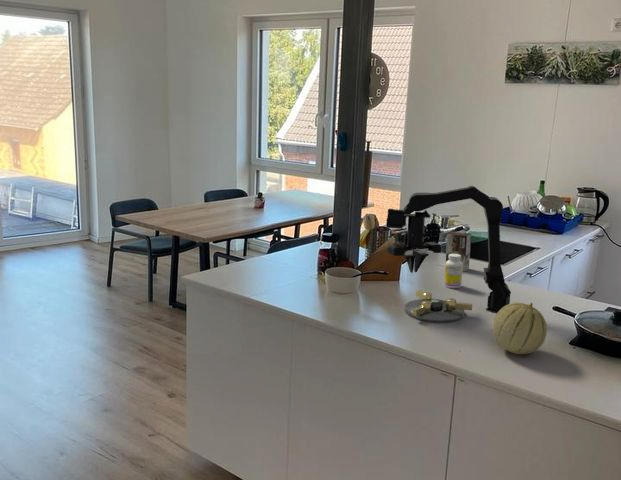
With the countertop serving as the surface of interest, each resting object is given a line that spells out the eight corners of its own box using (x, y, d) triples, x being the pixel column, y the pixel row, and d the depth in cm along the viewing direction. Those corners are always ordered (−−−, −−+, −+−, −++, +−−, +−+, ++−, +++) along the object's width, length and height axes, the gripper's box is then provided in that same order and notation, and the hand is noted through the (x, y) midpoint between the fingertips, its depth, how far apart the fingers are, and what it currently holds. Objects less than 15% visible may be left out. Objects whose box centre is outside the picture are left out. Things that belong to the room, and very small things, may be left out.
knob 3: (445, 310, 197) (446, 301, 196) (445, 306, 200) (446, 298, 199) (472, 312, 195) (472, 303, 195) (471, 309, 198) (472, 300, 198)
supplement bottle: (448, 282, 235) (450, 252, 232) (464, 286, 231) (466, 254, 228) (441, 286, 230) (443, 255, 227) (456, 289, 225) (458, 258, 223)
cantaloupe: (480, 346, 172) (484, 298, 169) (518, 339, 178) (523, 292, 174) (515, 366, 159) (520, 314, 155) (555, 357, 164) (561, 307, 161)
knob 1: (433, 303, 204) (433, 294, 203) (424, 304, 203) (425, 295, 202) (421, 296, 212) (422, 287, 211) (413, 296, 211) (414, 288, 210)
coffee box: (469, 268, 256) (472, 233, 253) (464, 272, 251) (467, 235, 247) (449, 265, 261) (451, 230, 257) (444, 268, 256) (447, 233, 252)
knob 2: (424, 309, 198) (424, 300, 197) (432, 311, 196) (433, 302, 195) (410, 315, 192) (410, 306, 191) (418, 317, 189) (419, 308, 189)
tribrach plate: (474, 312, 200) (475, 300, 199) (444, 327, 186) (445, 314, 185) (424, 299, 214) (425, 288, 213) (393, 312, 199) (394, 300, 198)
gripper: (427, 223, 212) (425, 264, 216) (381, 226, 206) (379, 268, 210) (443, 229, 202) (440, 272, 205) (395, 232, 196) (393, 276, 199)
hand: (413, 272), depth 205 cm, fingers closed
